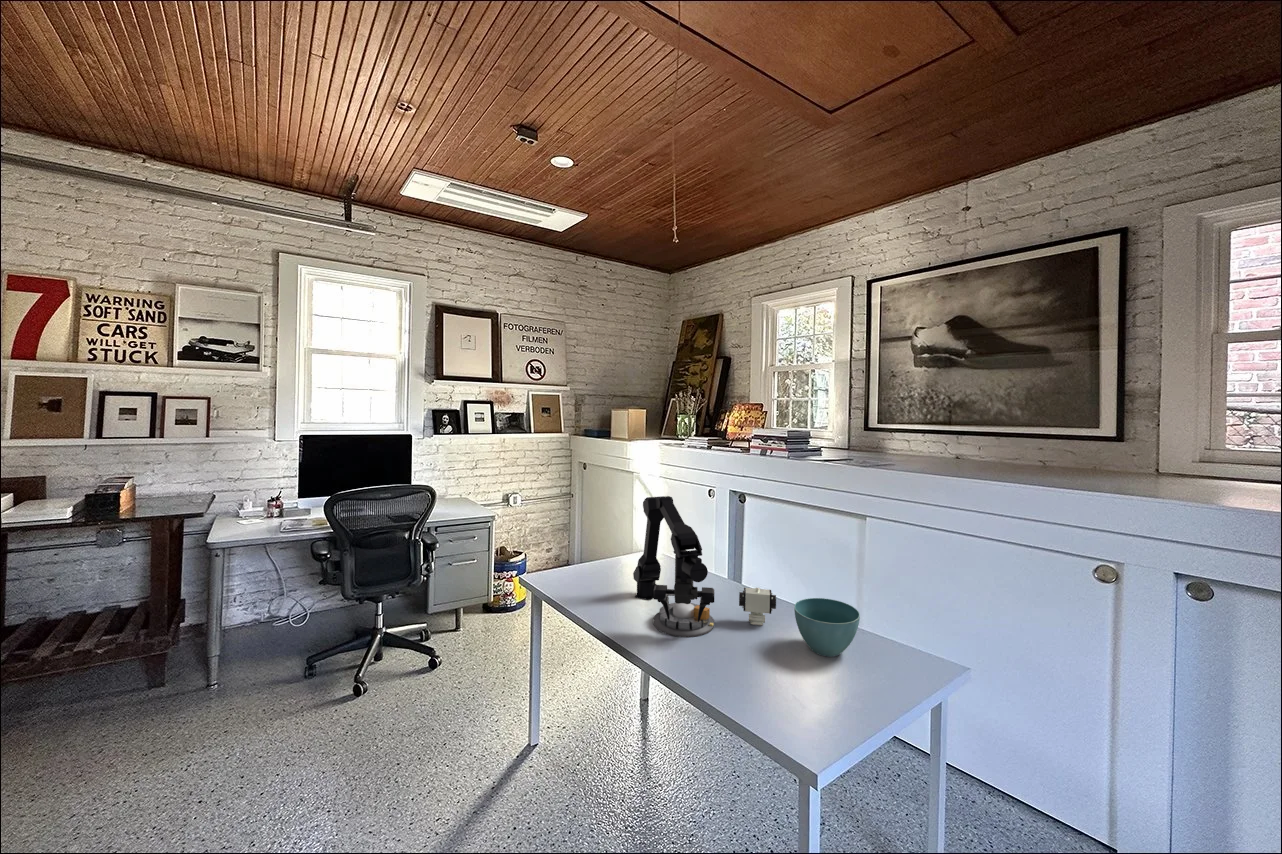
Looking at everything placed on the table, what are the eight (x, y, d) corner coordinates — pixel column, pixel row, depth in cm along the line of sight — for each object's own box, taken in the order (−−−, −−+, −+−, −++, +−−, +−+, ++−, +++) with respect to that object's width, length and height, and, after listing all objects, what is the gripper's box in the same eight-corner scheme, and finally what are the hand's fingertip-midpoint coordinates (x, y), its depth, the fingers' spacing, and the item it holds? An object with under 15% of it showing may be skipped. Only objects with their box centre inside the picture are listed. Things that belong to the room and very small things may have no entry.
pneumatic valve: (775, 628, 170) (776, 592, 169) (738, 624, 173) (739, 589, 172) (774, 621, 176) (775, 585, 175) (738, 617, 178) (739, 583, 177)
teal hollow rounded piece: (816, 669, 145) (817, 626, 144) (781, 639, 163) (782, 600, 162) (872, 661, 150) (873, 619, 149) (832, 632, 168) (834, 595, 167)
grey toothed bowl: (695, 635, 162) (695, 618, 162) (650, 621, 171) (650, 605, 171) (718, 617, 175) (718, 601, 175) (675, 605, 185) (675, 590, 184)
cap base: (643, 630, 168) (644, 613, 168) (665, 606, 187) (665, 591, 186) (704, 642, 160) (704, 624, 160) (721, 616, 179) (721, 600, 178)
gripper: (651, 578, 157) (650, 629, 158) (714, 582, 154) (713, 634, 155) (655, 566, 168) (654, 614, 169) (714, 569, 165) (713, 618, 166)
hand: (683, 620), depth 164 cm, fingers open, 9 cm apart
